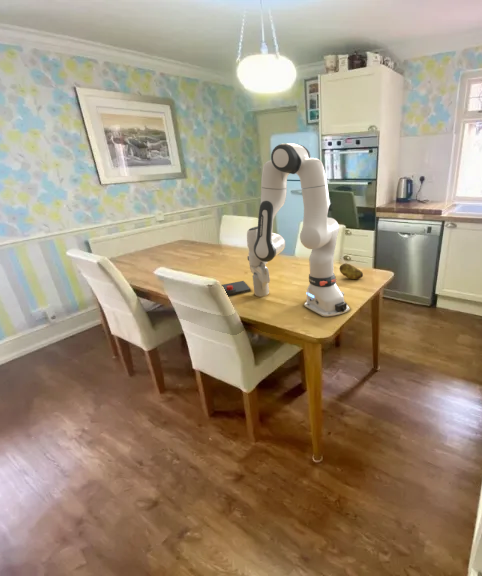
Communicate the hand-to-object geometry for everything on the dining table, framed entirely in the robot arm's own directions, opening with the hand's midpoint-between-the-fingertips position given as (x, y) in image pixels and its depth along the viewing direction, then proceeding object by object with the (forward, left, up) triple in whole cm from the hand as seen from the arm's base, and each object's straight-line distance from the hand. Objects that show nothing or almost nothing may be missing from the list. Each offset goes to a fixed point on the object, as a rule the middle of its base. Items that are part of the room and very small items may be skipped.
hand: (261, 286), depth 161 cm
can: (0, 0, -5) cm, 5 cm away
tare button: (+9, +14, -2) cm, 17 cm away
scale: (+14, +10, -5) cm, 18 cm away
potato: (-4, -51, -5) cm, 52 cm away
